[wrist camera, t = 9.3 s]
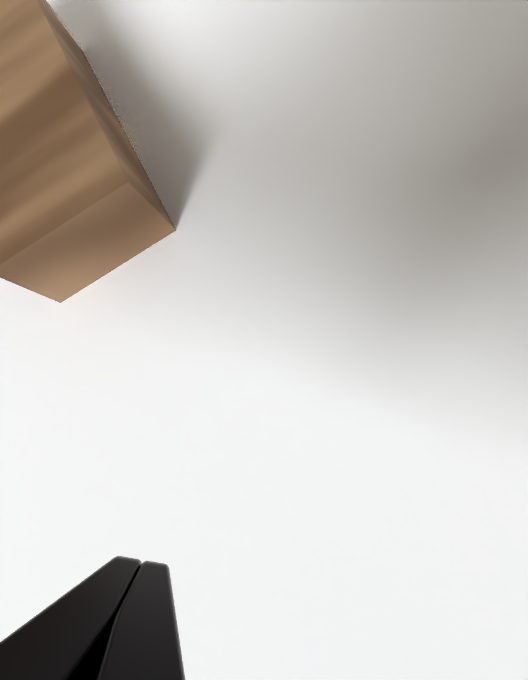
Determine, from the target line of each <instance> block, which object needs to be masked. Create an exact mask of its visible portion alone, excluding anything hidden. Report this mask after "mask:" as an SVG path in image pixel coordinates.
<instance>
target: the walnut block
mask: <svg viewBox="0 0 528 680" xmlns="http://www.w3.org/2000/svg"><path fill="white" fill-rule="evenodd" d="M174 231H176V229H175V228H174V226H173V224H172V222H171V220H170V218H169V216H168V214H167V212H166V210H165V208H164V206H163V205H162V203H161V201H160V199H159V197H158V195H157V193H156V191H155V189H154V187H153V185H152V183H151V182H150V180H149V178H148V176H147V174H146V172H145V170H144V168H143V166H142V164H141V162H140V160H139V159H138V157H137V155H136V153H135V151H134V149H133V147H132V145H131V143H130V141H129V139H128V137H127V136H126V134H125V132H124V130H123V128H122V126H121V124H120V122H119V120H118V118H117V116H116V114H115V113H114V111H113V109H112V107H111V105H110V103H109V101H108V99H107V97H106V95H105V93H104V91H103V90H102V88H101V86H100V84H99V82H98V80H97V78H96V76H95V74H94V72H93V70H92V68H91V67H90V65H89V63H88V61H87V59H86V57H85V55H84V53H83V51H82V49H81V47H80V45H79V44H78V42H77V41H76V40H75V38H74V37H73V36H72V34H71V33H70V32H69V30H68V29H67V28H66V26H65V25H64V24H63V22H62V21H61V20H60V18H59V17H58V16H57V14H56V13H55V12H54V10H53V9H52V8H51V7H50V5H49V4H48V3H47V1H46V0H0V278H3V279H5V280H7V281H10V282H12V283H15V284H17V285H19V286H22V287H24V288H27V289H29V290H31V291H34V292H36V293H39V294H41V295H43V296H46V297H48V298H51V299H53V300H55V301H58V302H60V303H61V302H63V301H64V300H66V299H67V298H69V297H71V296H72V295H74V294H75V293H77V292H79V291H80V290H82V289H83V288H85V287H87V286H88V285H90V284H91V283H93V282H95V281H96V280H98V279H99V278H101V277H102V276H104V275H106V274H107V273H109V272H110V271H112V270H114V269H115V268H117V267H118V266H120V265H122V264H123V263H125V262H126V261H128V260H130V259H131V258H133V257H134V256H136V255H137V254H139V253H141V252H142V251H144V250H145V249H147V248H149V247H150V246H152V245H153V244H155V243H157V242H158V241H160V240H161V239H163V238H165V237H166V236H168V235H169V234H171V233H172V232H174Z"/></svg>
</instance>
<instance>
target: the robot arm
mask: <svg viewBox="0 0 528 680" xmlns="http://www.w3.org/2000/svg"><path fill="white" fill-rule="evenodd" d="M0 680H185V675H184V668H183V662H182V655H181V648H180V641H179V634H178V627H177V620H176V613H175V606H174V599H173V593H172V586H171V579H170V572H169V567H168V566H167V565H166V564H163V563H157V562H151V561H145V562H143V563H141V561H140V560H139V559H134V558H128V557H122V556H117V557H115V558H113V559H112V560H111V561H109V562H108V563H106V564H105V565H104V566H102V567H101V568H100V569H98V570H97V571H96V572H94V573H93V574H92V575H90V576H89V577H88V578H86V579H85V580H84V581H82V582H81V583H79V584H78V585H77V586H75V587H74V588H73V589H71V590H70V591H69V592H67V593H66V594H65V595H63V596H62V597H61V598H59V599H58V600H57V601H55V602H54V603H53V604H51V605H50V606H48V607H47V608H46V609H44V610H43V611H42V612H40V613H39V614H38V615H36V616H35V617H34V618H32V619H31V620H30V621H28V622H27V623H26V624H24V625H23V626H21V627H20V628H19V629H17V630H16V631H15V632H13V633H12V634H11V635H9V636H8V637H7V638H5V639H4V640H3V641H1V642H0Z"/></svg>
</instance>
